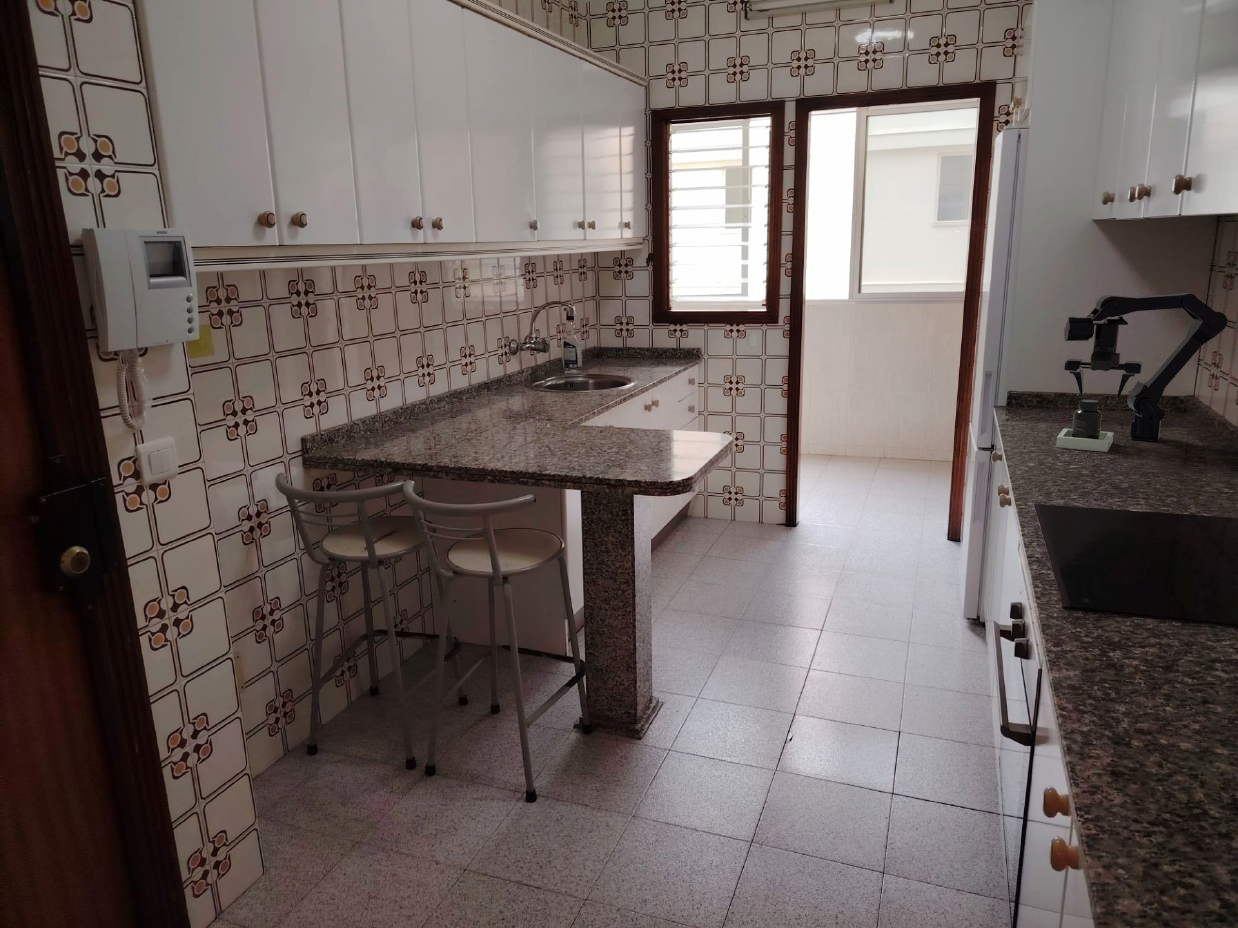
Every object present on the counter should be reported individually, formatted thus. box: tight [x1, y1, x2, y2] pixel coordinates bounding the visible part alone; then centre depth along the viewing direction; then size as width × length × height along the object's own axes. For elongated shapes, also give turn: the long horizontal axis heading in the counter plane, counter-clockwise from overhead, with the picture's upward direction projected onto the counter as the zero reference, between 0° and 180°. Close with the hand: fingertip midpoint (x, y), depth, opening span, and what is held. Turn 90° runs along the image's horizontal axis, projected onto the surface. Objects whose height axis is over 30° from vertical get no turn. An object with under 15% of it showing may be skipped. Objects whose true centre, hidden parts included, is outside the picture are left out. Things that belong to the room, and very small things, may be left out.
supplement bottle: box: [1071, 399, 1103, 440], centre depth 234 cm, size 7×7×12 cm
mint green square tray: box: [1055, 427, 1114, 453], centre depth 235 cm, size 12×12×3 cm
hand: (1099, 396), depth 241 cm, fingers open, 9 cm apart
